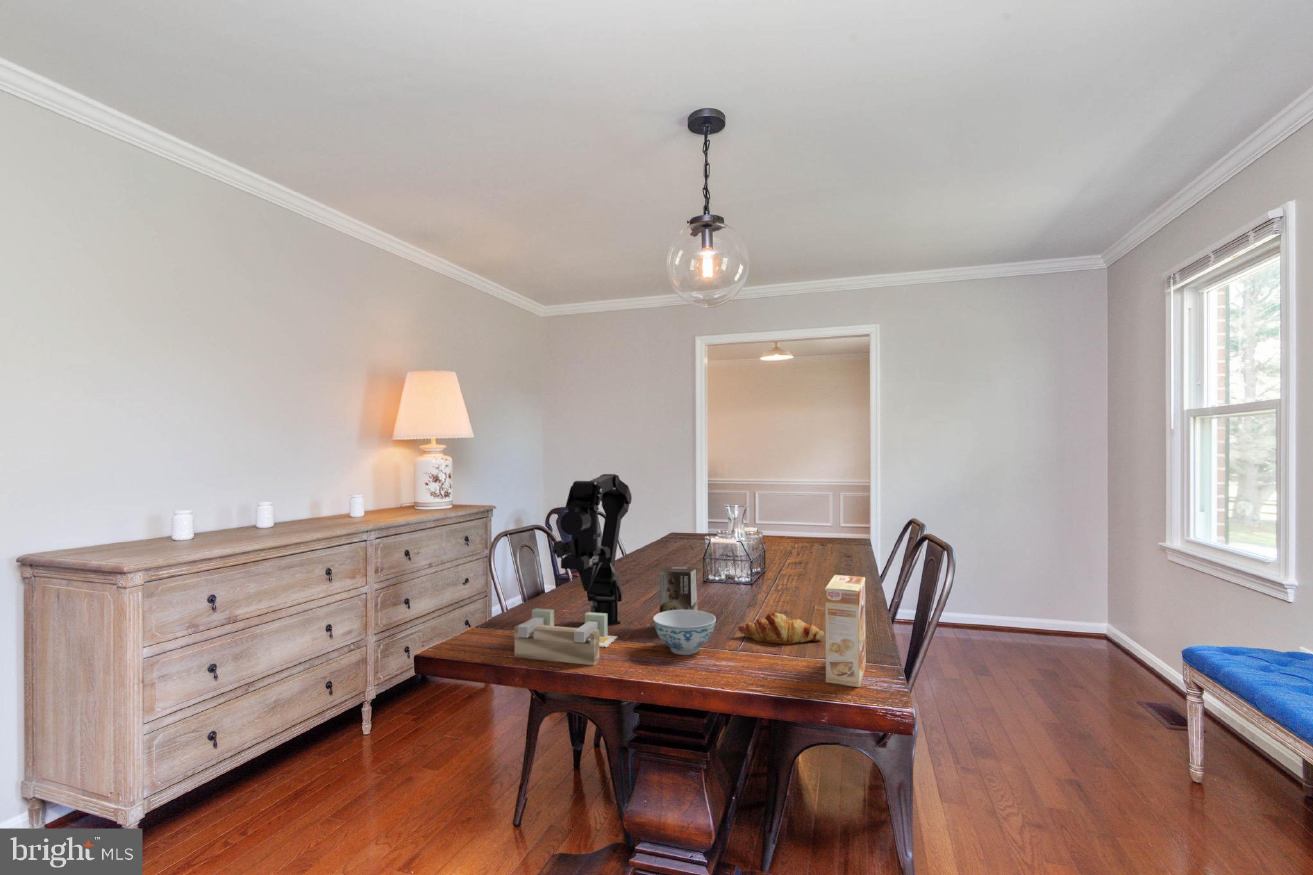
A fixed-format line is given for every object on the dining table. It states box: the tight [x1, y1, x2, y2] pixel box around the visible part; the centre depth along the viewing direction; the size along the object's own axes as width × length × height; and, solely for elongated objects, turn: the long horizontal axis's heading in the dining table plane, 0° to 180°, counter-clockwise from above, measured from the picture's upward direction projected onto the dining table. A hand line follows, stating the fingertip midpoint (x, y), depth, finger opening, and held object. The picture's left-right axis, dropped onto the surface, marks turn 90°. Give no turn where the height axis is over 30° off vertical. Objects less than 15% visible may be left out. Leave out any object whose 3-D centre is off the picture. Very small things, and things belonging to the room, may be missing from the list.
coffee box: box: [658, 566, 699, 613], centre depth 166 cm, size 9×6×16 cm
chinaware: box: [652, 609, 717, 656], centre depth 149 cm, size 15×15×8 cm
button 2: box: [574, 611, 609, 643], centre depth 144 cm, size 11×5×5 cm, turn 163°
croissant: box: [738, 612, 825, 645], centre depth 157 cm, size 21×10×8 cm, turn 83°
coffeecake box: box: [824, 574, 867, 688], centre depth 133 cm, size 15×7×20 cm, turn 156°
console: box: [513, 623, 600, 666], centre depth 144 cm, size 3×20×7 cm, turn 73°
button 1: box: [518, 607, 555, 638], centre depth 148 cm, size 11×5×5 cm, turn 163°
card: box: [588, 634, 618, 648], centre depth 157 cm, size 8×12×1 cm, turn 73°
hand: (586, 590), depth 159 cm, fingers closed
